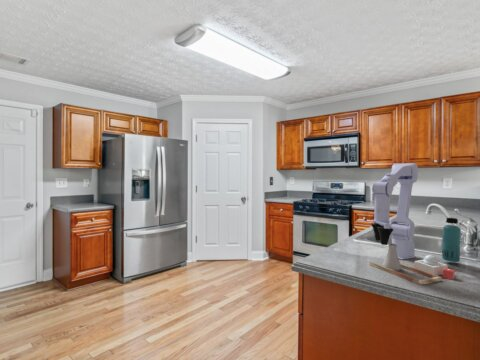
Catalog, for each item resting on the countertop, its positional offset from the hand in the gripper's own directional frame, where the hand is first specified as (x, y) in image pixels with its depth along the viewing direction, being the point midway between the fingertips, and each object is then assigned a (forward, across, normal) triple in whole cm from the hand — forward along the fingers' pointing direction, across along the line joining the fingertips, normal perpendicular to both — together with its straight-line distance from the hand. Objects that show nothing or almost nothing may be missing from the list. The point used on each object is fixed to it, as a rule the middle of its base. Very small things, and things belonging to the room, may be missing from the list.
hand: (381, 242), depth 120 cm
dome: (+8, +3, +18) cm, 20 cm away
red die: (+10, +9, +21) cm, 25 cm away
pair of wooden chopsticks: (+10, +6, +6) cm, 13 cm away
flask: (+10, +2, +4) cm, 11 cm away
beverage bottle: (+10, -10, +32) cm, 35 cm away
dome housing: (+10, +3, +18) cm, 21 cm away
